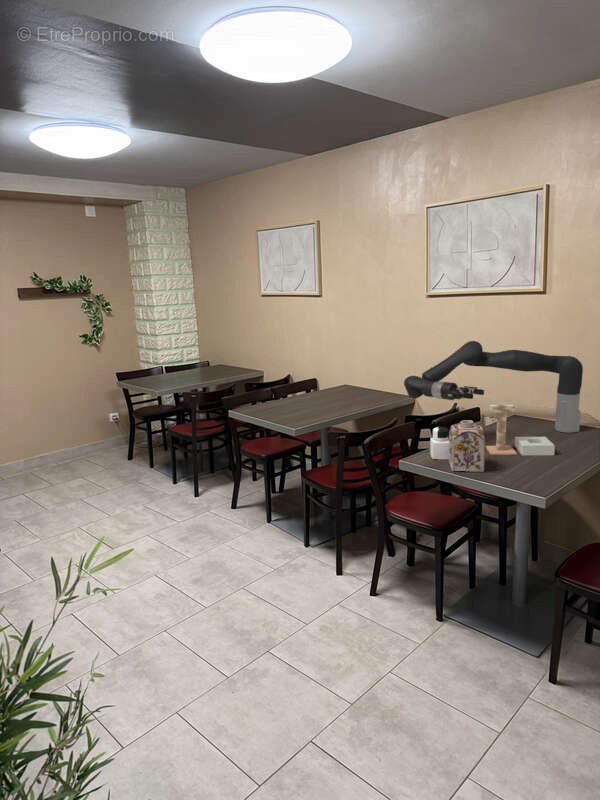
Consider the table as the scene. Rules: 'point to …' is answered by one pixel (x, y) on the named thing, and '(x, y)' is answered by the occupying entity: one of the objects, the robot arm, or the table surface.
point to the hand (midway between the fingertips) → (478, 394)
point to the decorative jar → (466, 447)
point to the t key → (501, 423)
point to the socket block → (534, 446)
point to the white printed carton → (439, 443)
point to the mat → (507, 451)
